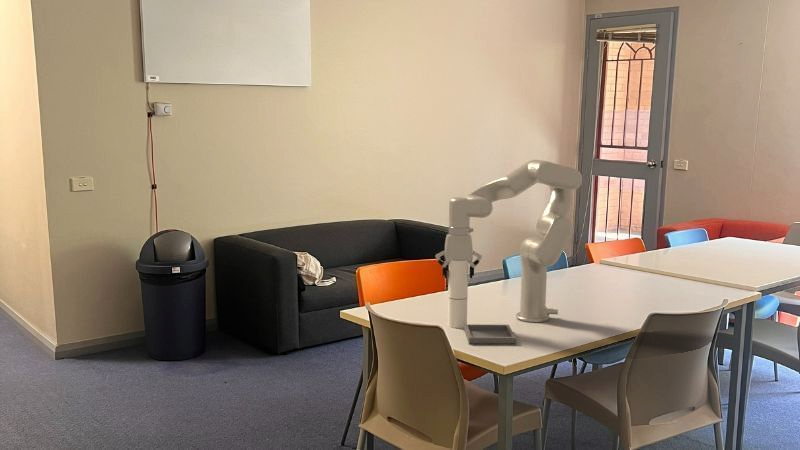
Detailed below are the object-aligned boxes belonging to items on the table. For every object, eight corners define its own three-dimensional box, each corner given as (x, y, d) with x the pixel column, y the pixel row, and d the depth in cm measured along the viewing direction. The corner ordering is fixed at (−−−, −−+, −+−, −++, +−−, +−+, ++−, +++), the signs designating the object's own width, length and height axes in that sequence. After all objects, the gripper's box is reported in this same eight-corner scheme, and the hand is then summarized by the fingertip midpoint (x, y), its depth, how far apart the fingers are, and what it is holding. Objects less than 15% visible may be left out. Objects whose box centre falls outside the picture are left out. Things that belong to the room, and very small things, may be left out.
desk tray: (508, 331, 272) (508, 324, 271) (515, 344, 256) (515, 337, 256) (464, 330, 271) (464, 324, 271) (469, 344, 256) (469, 337, 255)
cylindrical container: (465, 322, 282) (467, 257, 278) (467, 328, 275) (469, 261, 271) (446, 322, 282) (447, 257, 278) (448, 328, 275) (449, 261, 271)
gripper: (481, 229, 277) (480, 275, 279) (434, 229, 277) (434, 275, 279) (484, 233, 269) (482, 280, 272) (435, 233, 269) (435, 279, 272)
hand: (458, 277), depth 276 cm, fingers open, 9 cm apart
